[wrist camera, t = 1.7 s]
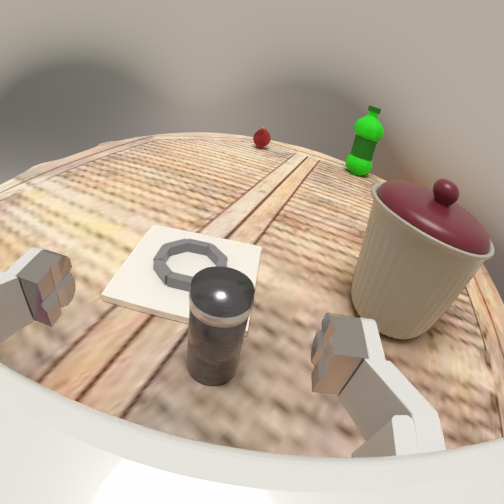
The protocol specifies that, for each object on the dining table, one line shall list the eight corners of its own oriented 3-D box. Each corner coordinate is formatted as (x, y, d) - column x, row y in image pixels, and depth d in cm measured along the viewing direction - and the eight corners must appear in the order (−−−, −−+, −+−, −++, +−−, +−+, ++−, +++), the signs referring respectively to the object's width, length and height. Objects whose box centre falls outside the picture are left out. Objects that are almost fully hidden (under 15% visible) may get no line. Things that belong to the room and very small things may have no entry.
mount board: (102, 300, 34) (99, 284, 33) (153, 229, 49) (153, 216, 48) (246, 336, 34) (249, 321, 33) (260, 251, 49) (263, 238, 48)
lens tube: (180, 379, 28) (181, 300, 22) (193, 341, 32) (199, 260, 26) (232, 391, 28) (252, 315, 22) (239, 352, 32) (258, 273, 26)
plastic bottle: (363, 180, 96) (383, 110, 82) (337, 168, 102) (355, 101, 88) (374, 178, 103) (393, 113, 89) (349, 166, 108) (367, 104, 95)
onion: (262, 151, 101) (266, 129, 97) (248, 146, 104) (252, 125, 99) (270, 149, 106) (275, 128, 101) (257, 145, 108) (261, 124, 104)
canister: (384, 379, 31) (483, 222, 20) (308, 284, 44) (353, 143, 33) (454, 335, 39) (523, 219, 28) (386, 268, 52) (430, 160, 41)
